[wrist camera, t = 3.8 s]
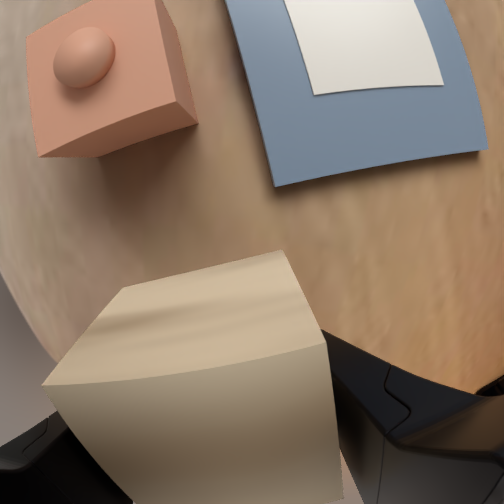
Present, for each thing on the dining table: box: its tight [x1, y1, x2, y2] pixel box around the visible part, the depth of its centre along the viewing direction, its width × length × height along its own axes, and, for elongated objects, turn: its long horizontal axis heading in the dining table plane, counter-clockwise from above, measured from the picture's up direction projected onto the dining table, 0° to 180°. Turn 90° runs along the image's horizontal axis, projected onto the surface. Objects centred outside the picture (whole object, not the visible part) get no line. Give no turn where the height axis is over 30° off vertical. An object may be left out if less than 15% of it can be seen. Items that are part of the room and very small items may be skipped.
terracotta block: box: [26, 0, 198, 157], centre depth 10 cm, size 5×5×6 cm
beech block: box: [41, 250, 343, 504], centre depth 7 cm, size 5×5×5 cm
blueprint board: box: [224, 0, 488, 187], centre depth 11 cm, size 14×12×1 cm
